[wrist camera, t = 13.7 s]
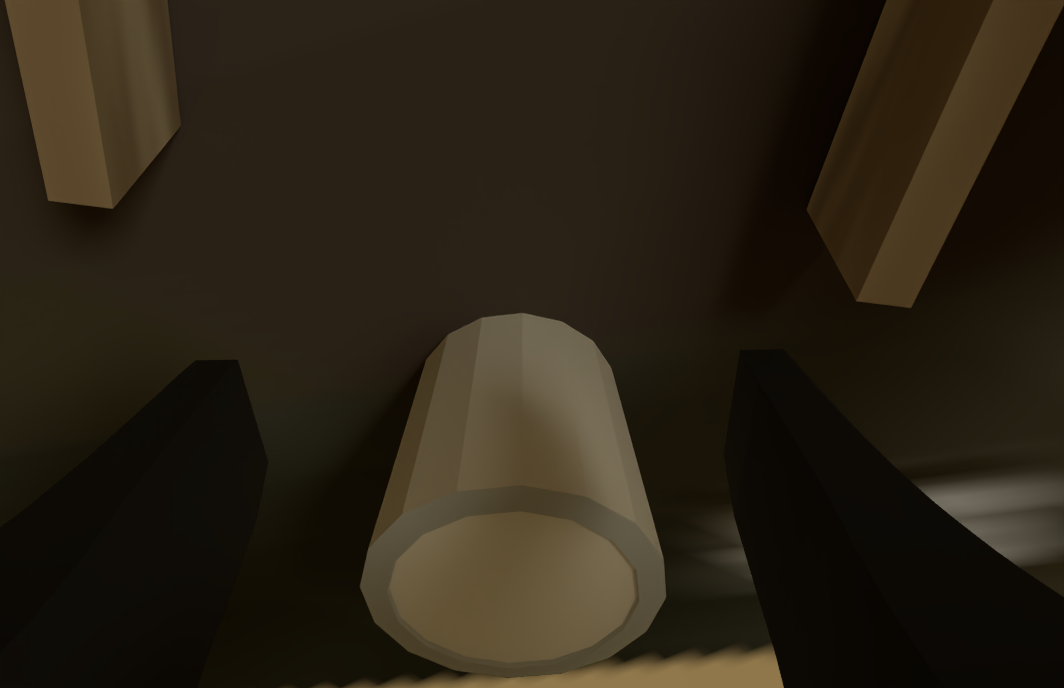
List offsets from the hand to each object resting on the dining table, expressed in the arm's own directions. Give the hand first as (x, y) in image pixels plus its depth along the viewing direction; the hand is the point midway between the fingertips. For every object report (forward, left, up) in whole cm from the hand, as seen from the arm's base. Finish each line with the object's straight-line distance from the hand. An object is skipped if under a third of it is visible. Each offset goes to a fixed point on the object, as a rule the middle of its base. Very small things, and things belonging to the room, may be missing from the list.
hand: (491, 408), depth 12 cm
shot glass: (-1, +8, -10) cm, 12 cm away
